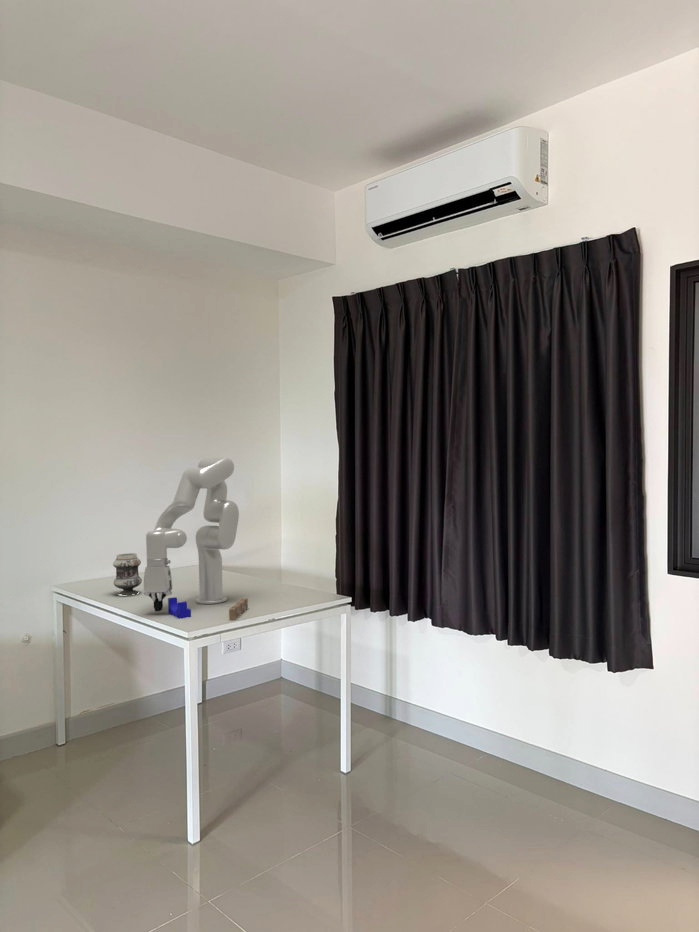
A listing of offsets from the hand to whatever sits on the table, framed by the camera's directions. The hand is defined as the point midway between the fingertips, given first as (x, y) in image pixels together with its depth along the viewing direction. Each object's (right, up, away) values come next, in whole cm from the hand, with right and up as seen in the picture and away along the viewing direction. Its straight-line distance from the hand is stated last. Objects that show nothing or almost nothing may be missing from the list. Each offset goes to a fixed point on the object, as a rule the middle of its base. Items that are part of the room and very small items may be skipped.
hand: (158, 610), depth 269 cm
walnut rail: (+32, -1, -3) cm, 32 cm away
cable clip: (+9, -2, -2) cm, 9 cm away
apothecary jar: (-25, -2, +43) cm, 50 cm away
